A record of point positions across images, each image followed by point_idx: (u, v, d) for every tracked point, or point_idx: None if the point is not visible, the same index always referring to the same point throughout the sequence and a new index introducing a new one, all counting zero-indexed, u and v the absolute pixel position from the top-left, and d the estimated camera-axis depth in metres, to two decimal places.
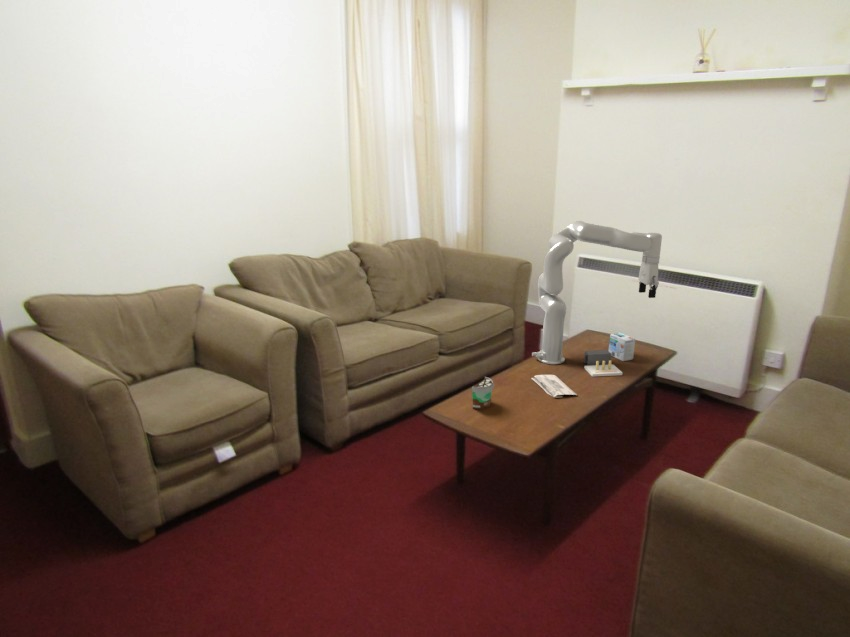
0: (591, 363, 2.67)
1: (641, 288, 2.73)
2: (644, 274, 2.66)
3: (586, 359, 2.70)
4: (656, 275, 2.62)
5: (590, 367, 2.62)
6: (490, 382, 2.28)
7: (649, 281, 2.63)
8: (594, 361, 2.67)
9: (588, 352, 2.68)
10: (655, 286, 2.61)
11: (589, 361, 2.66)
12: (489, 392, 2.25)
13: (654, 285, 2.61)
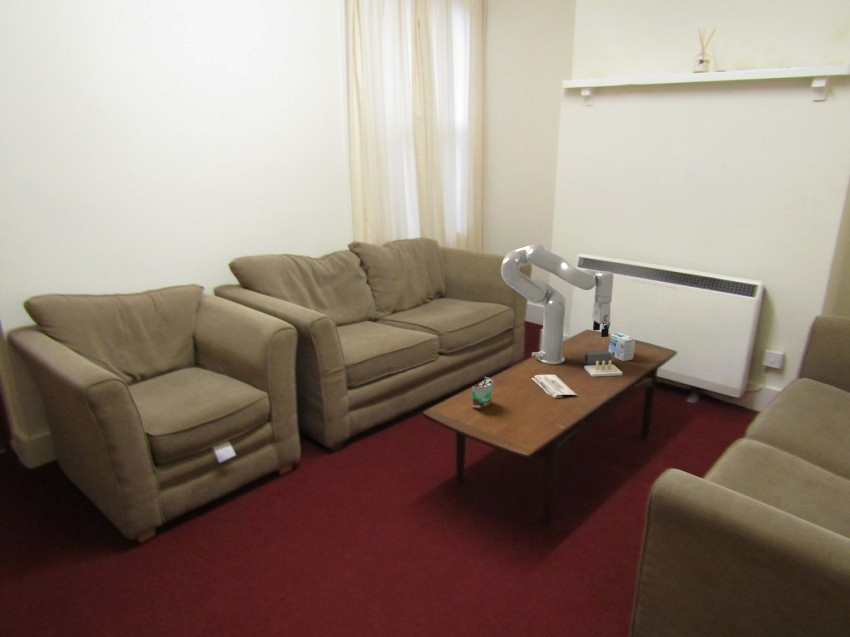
0: (591, 363, 2.67)
1: (595, 326, 2.69)
2: (597, 313, 2.61)
3: (586, 359, 2.70)
4: (608, 314, 2.57)
5: (590, 367, 2.62)
6: (490, 382, 2.28)
7: (601, 320, 2.58)
8: (594, 361, 2.67)
9: (588, 352, 2.68)
10: (607, 326, 2.56)
11: (589, 361, 2.66)
12: (489, 392, 2.25)
13: (606, 325, 2.56)
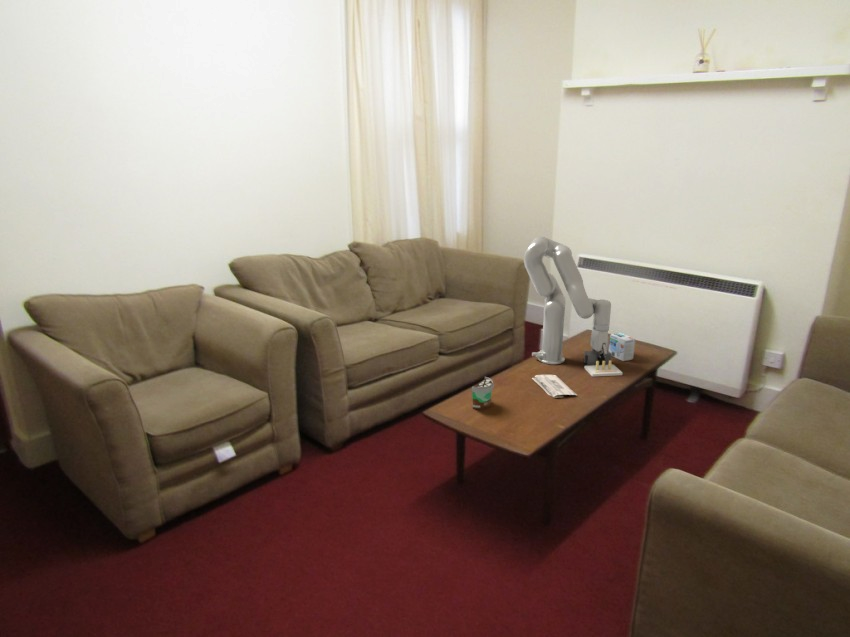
0: (591, 363, 2.67)
1: None
2: (594, 340, 2.65)
3: (586, 359, 2.70)
4: (606, 342, 2.61)
5: (590, 367, 2.62)
6: (490, 382, 2.28)
7: (599, 348, 2.62)
8: (594, 361, 2.67)
9: (588, 352, 2.68)
10: (603, 355, 2.62)
11: (589, 361, 2.66)
12: (489, 392, 2.25)
13: (602, 354, 2.62)
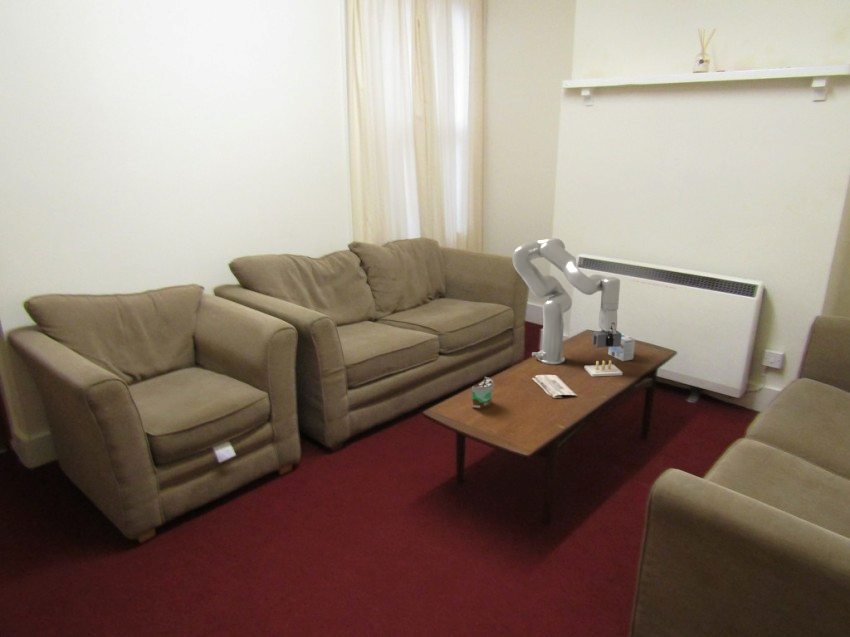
0: (600, 344, 2.53)
1: None
2: (603, 320, 2.52)
3: (595, 340, 2.57)
4: (615, 322, 2.48)
5: (590, 367, 2.62)
6: (490, 382, 2.28)
7: (608, 328, 2.49)
8: (603, 342, 2.53)
9: (597, 333, 2.55)
10: (612, 335, 2.49)
11: (598, 342, 2.53)
12: (489, 392, 2.25)
13: (611, 334, 2.49)
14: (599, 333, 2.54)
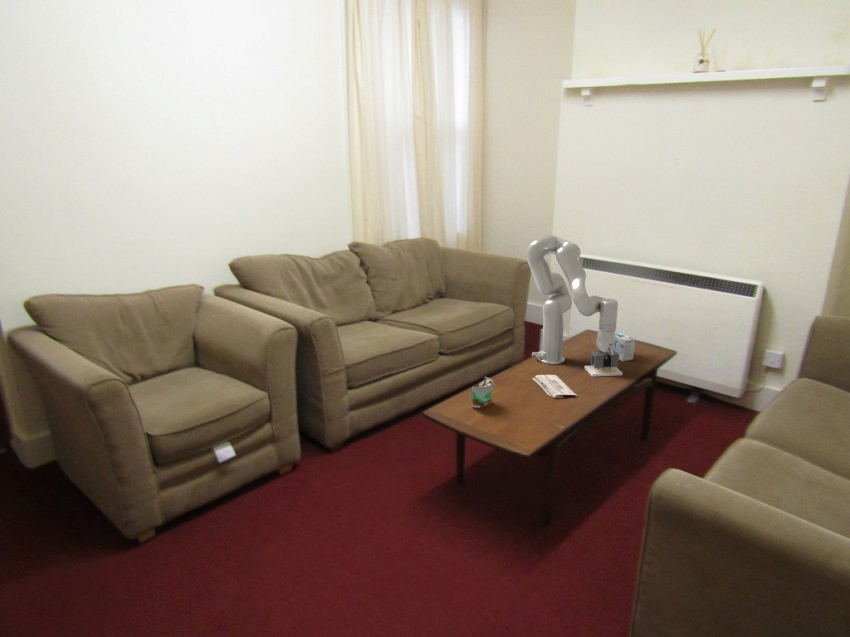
0: (598, 364, 2.56)
1: None
2: (601, 341, 2.55)
3: (593, 360, 2.60)
4: (613, 343, 2.51)
5: (590, 367, 2.62)
6: (490, 382, 2.28)
7: (606, 349, 2.52)
8: (601, 362, 2.56)
9: (595, 353, 2.58)
10: (609, 356, 2.52)
11: (596, 362, 2.56)
12: (489, 392, 2.25)
13: (609, 355, 2.52)
14: (597, 354, 2.57)
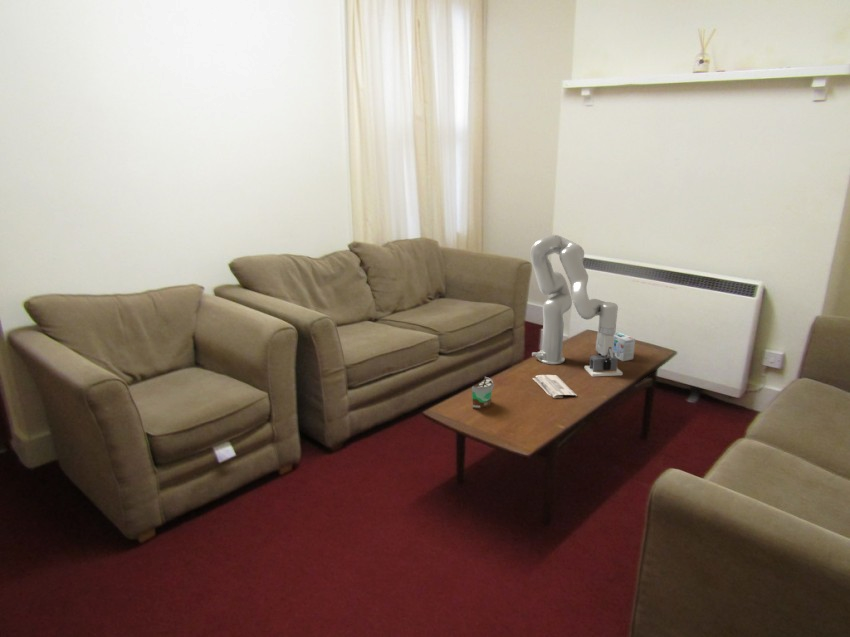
0: (597, 368, 2.57)
1: None
2: (600, 344, 2.55)
3: (591, 364, 2.61)
4: (612, 346, 2.52)
5: None
6: (490, 382, 2.28)
7: (605, 353, 2.52)
8: (600, 366, 2.57)
9: (594, 357, 2.58)
10: (609, 359, 2.52)
11: (595, 366, 2.57)
12: (489, 392, 2.25)
13: (608, 358, 2.52)
14: (596, 357, 2.58)
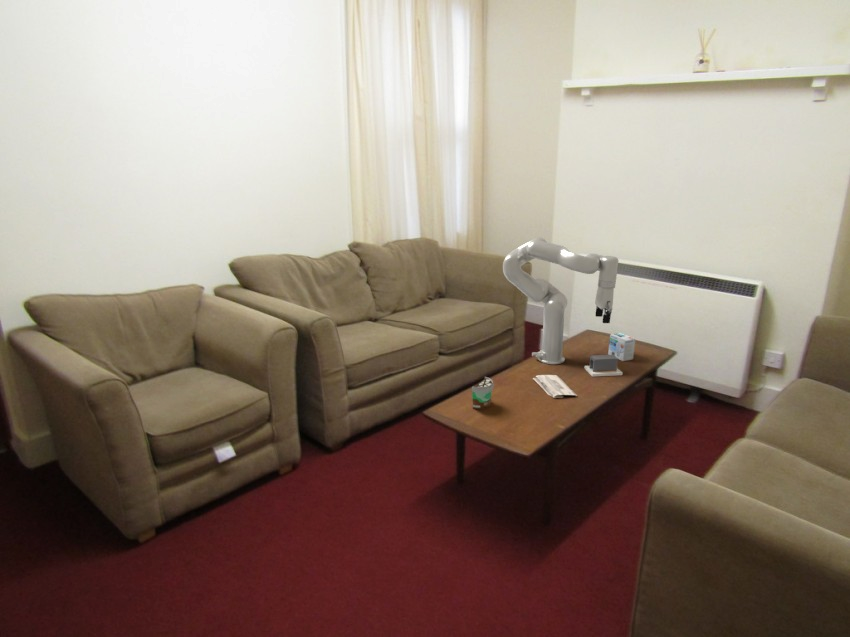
0: (597, 368, 2.57)
1: (598, 312, 2.64)
2: (599, 298, 2.56)
3: (591, 364, 2.61)
4: (611, 300, 2.53)
5: None
6: (490, 382, 2.28)
7: (603, 306, 2.53)
8: (600, 366, 2.57)
9: (594, 357, 2.58)
10: (609, 312, 2.51)
11: (595, 366, 2.57)
12: (489, 392, 2.25)
13: (608, 310, 2.52)
14: (596, 357, 2.58)
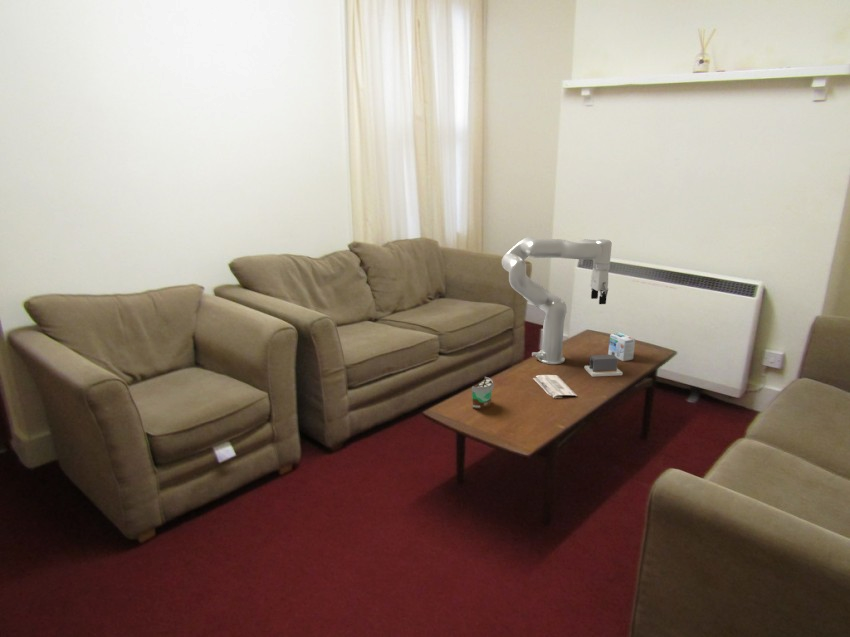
0: (597, 368, 2.57)
1: (593, 294, 2.74)
2: (595, 280, 2.66)
3: (591, 364, 2.61)
4: (606, 282, 2.63)
5: None
6: (490, 382, 2.28)
7: (599, 288, 2.63)
8: (600, 366, 2.57)
9: (594, 357, 2.58)
10: (605, 293, 2.61)
11: (595, 366, 2.57)
12: (489, 392, 2.25)
13: (604, 292, 2.61)
14: (596, 357, 2.58)
